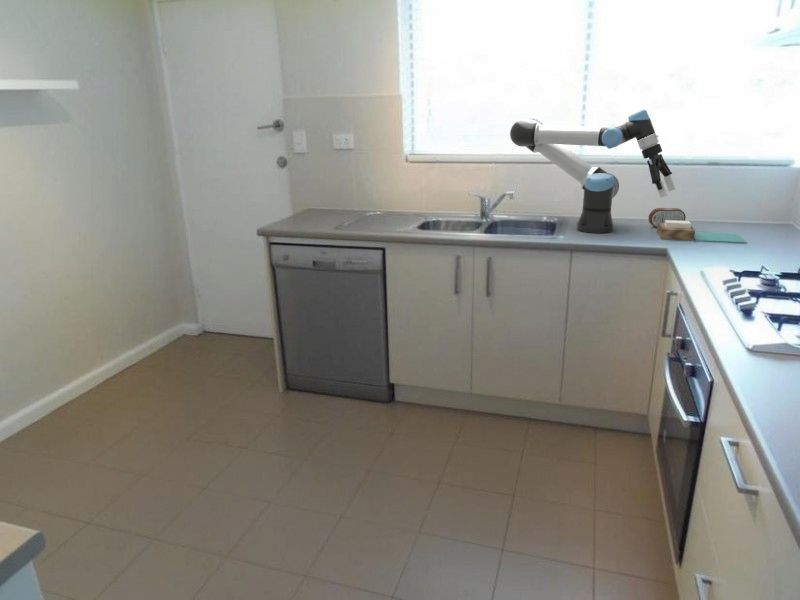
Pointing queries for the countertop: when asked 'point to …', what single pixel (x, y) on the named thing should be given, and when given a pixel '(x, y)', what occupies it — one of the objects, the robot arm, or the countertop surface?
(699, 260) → the countertop surface
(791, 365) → the countertop surface
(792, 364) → the countertop surface
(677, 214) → the tin
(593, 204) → the robot arm
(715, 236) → the mat
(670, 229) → the brown wooden block
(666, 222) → the white rectangular block
